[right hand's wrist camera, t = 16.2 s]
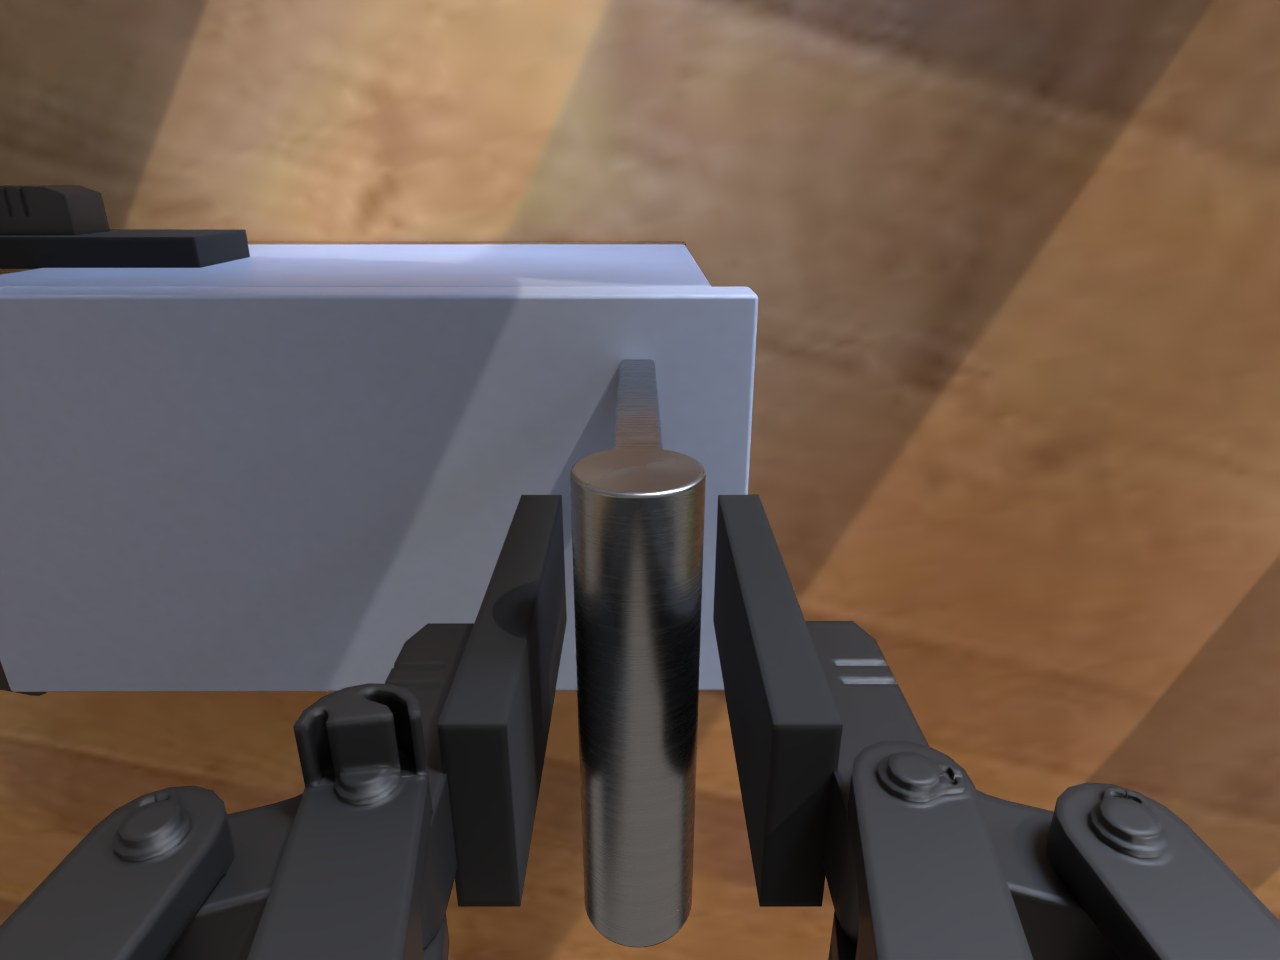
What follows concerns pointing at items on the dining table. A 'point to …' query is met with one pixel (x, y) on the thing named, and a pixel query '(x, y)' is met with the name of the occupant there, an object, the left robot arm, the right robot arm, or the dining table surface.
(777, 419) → the dining table surface
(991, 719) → the dining table surface
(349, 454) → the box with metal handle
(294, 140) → the dining table surface
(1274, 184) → the dining table surface
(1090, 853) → the right robot arm
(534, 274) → the chest
